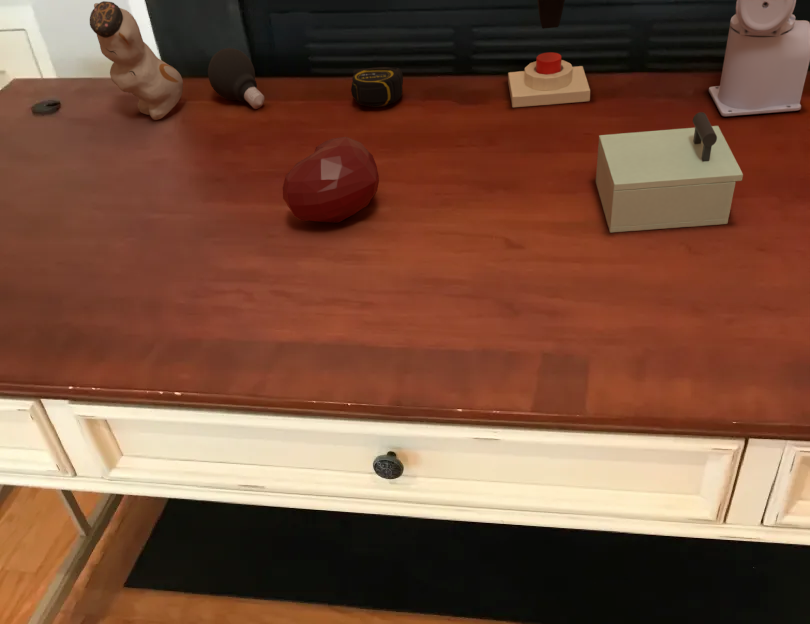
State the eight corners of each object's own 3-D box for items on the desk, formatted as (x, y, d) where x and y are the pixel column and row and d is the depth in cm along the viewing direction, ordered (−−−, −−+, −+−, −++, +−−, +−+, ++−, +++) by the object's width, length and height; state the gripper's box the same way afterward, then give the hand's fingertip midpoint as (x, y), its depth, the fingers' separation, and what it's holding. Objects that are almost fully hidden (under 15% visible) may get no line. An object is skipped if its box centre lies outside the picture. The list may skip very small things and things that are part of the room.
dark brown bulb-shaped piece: (246, 86, 118) (202, 40, 121) (238, 129, 124) (195, 85, 126) (284, 79, 122) (240, 35, 125) (274, 122, 127) (232, 79, 130)
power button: (559, 65, 118) (560, 51, 117) (562, 74, 116) (562, 60, 115) (535, 67, 119) (535, 53, 117) (537, 77, 117) (537, 62, 115)
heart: (408, 188, 103) (338, 186, 108) (393, 120, 98) (319, 121, 103) (358, 242, 97) (285, 238, 101) (338, 173, 91) (262, 172, 96)
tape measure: (404, 90, 124) (402, 61, 121) (401, 111, 119) (399, 82, 116) (355, 93, 124) (352, 65, 122) (351, 114, 120) (347, 85, 117)
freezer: (704, 173, 102) (711, 132, 98) (727, 224, 94) (735, 182, 91) (595, 181, 102) (598, 141, 99) (609, 232, 95) (613, 191, 91)
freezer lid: (717, 131, 98) (723, 96, 95) (742, 181, 91) (749, 144, 88) (598, 141, 99) (601, 107, 96) (613, 190, 91) (616, 155, 89)
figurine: (112, 115, 127) (74, -4, 115) (180, 96, 129) (149, -22, 118) (129, 137, 121) (90, 15, 110) (199, 116, 124) (168, -5, 112)
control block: (582, 76, 122) (583, 53, 120) (589, 101, 116) (591, 77, 114) (508, 82, 122) (508, 59, 120) (512, 107, 117) (512, 84, 115)
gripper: (514, -116, 108) (513, 8, 119) (524, -82, 99) (522, 50, 109) (573, -122, 108) (567, 3, 118) (589, -88, 98) (581, 45, 108)
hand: (549, 26), depth 113 cm, fingers closed
